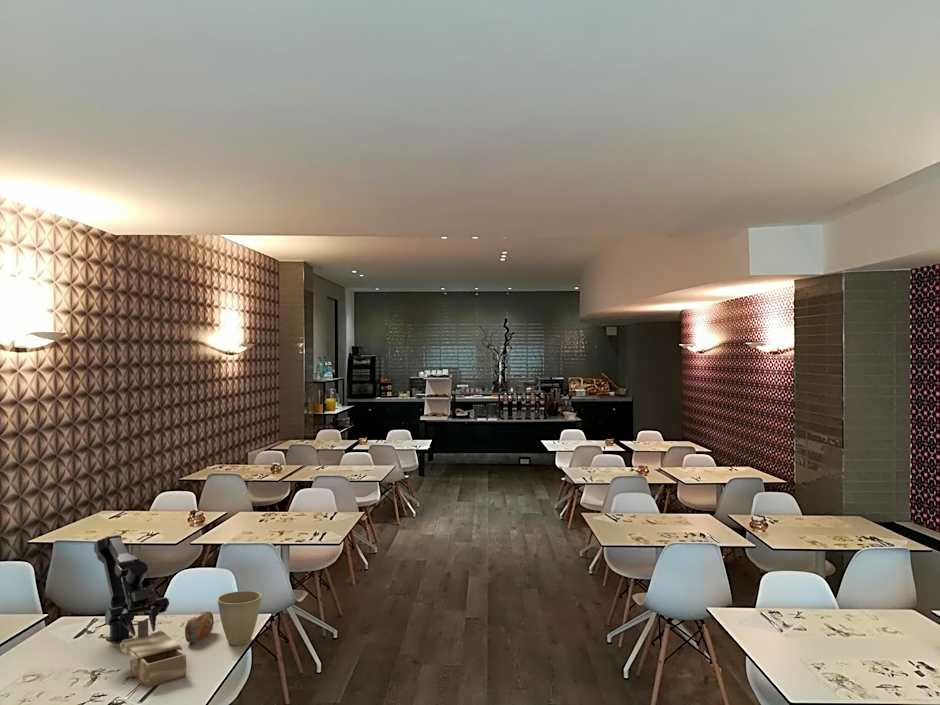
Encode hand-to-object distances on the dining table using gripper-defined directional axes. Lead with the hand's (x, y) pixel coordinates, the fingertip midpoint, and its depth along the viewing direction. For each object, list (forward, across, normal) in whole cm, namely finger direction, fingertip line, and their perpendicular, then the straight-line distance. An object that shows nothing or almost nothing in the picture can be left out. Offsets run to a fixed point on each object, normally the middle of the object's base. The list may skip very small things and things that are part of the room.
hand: (144, 632), depth 246 cm
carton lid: (+7, 0, -1) cm, 8 cm away
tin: (+1, +22, +13) cm, 25 cm away
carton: (+16, 0, -2) cm, 16 cm away
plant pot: (+10, +31, +4) cm, 33 cm away
